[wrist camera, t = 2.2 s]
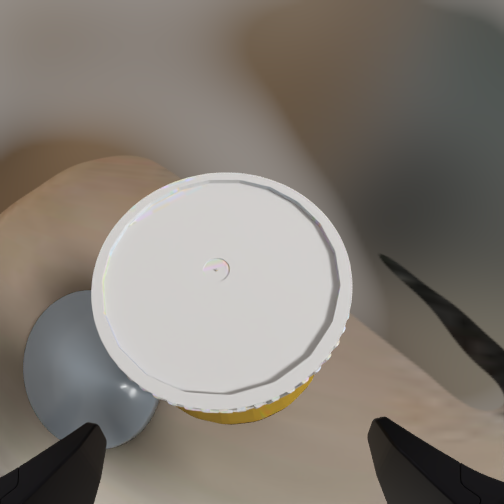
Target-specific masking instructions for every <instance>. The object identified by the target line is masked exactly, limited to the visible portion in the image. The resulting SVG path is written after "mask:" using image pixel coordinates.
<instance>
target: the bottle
mask: <svg viewBox="0 0 504 504" xmlns="http://www.w3.org/2000/svg"><path fill="white" fill-rule="evenodd" d="M351 299H352V273H351V267H350V263H349V258H348V255H347V252H346V249H345V246H344V244H343V242H342V240H341V238H340V236H339V234H338V232H337V231H336V229H335V228H334V226H333V224H332V223H331V222H330V220H329V219H328V218H327V217H326V216H325V215H324V213H323V212H322V211H321V210H320V209H319V208H318V207H317V206H316V205H314V204H313V203H312V202H311V201H310V200H308V199H307V198H306V197H304V196H303V195H301V194H300V193H298V192H296V191H295V190H293V189H291V188H289V187H287V186H285V185H283V184H281V183H278V182H276V181H273V180H270V179H267V178H263V177H259V176H255V175H249V174H243V173H210V174H203V175H198V176H193V177H189V178H185V179H182V180H179V181H176V182H173V183H171V184H168V185H166V186H164V187H162V188H160V189H158V190H156V191H154V192H153V193H151V194H149V195H148V196H146V197H145V198H143V199H142V200H141V201H139V202H138V203H137V204H136V205H134V206H133V207H132V208H131V209H130V210H129V211H128V212H127V213H126V214H125V215H124V216H123V217H122V218H121V219H120V220H119V221H118V223H117V224H116V225H115V226H114V228H113V229H112V231H111V232H110V234H109V235H108V237H107V239H106V240H105V242H104V244H103V246H102V248H101V251H100V253H99V256H98V258H97V261H96V265H95V268H94V273H93V279H92V288H91V301H92V311H93V316H94V321H95V324H96V328H97V331H98V333H99V336H100V338H101V340H102V342H103V344H104V346H105V348H106V350H107V351H108V353H109V355H110V357H111V358H112V359H113V360H114V362H115V363H116V364H117V367H118V368H119V369H120V370H122V371H123V372H124V373H125V374H126V375H127V377H128V379H130V380H131V381H133V382H136V383H137V384H138V385H139V387H140V388H141V389H142V390H143V391H147V392H150V393H153V394H152V395H153V397H155V398H157V399H160V400H165V401H168V403H169V404H171V405H173V406H176V407H178V408H179V409H181V410H183V411H184V412H186V413H188V414H189V415H191V416H193V417H196V418H198V419H202V420H206V421H211V422H216V423H220V424H241V423H249V422H255V421H259V420H262V419H264V418H266V417H268V416H271V415H273V414H275V413H277V412H279V411H281V410H283V409H284V408H285V407H287V406H288V405H290V404H291V403H292V402H293V401H294V400H295V399H296V398H297V397H298V396H299V395H300V394H301V393H302V392H303V391H304V390H305V389H306V388H307V386H308V385H309V384H310V382H311V381H312V379H313V376H314V374H315V373H317V372H318V371H319V370H320V369H321V365H322V364H323V363H325V362H326V361H327V360H328V359H329V358H330V357H331V353H330V352H331V351H332V350H333V349H334V348H336V347H337V345H338V344H339V338H340V336H341V335H342V334H343V333H344V331H345V324H346V321H347V319H348V318H349V310H350V306H351Z"/></svg>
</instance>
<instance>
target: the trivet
mask: <svg viewBox="0 0 504 504" xmlns="http://www.w3.org/2000/svg"><path fill="white" fill-rule="evenodd" d="M23 374H24V383H25V388H26V392H27V395H28V399H29V401H30V404H31V406H32V408H33V410H34V412H35V414H36V415H37V417H38V418H39V420H40V421H41V422H42V424H43V425H44V426H45V427H46V428H47V429H48V430H49V431H50V432H51V433H52V434H53V435H54V436H56V437H57V438H58V439H60V440H61V439H63V438H64V437H66V436H67V435H69V434H70V433H72V432H73V431H74V430H76V429H77V428H79V427H80V426H82V425H83V424H85V423H86V422H91V423H96V424H98V425H99V426H100V428H101V430H102V432H103V434H104V436H105V437H106V440H107V446H106V449H110V448H114V447H118V446H120V445H123V444H125V443H127V442H129V441H130V440H132V439H133V438H135V437H136V436H137V435H138V434H139V433H140V432H141V431H142V430H143V429H144V428H145V427H146V426H147V424H148V423H149V421H150V420H151V418H152V416H153V415H154V413H155V410H156V408H157V405H158V402H159V399H157V398H155V397H153V395H152V394H153V393H150V392H147V391H143V390H142V389H141V388H140V387H139V385H138V384H137V383H136V382H133V381H131V380H130V379H128V377H127V375H126V374H125V373H124V372H123V371H122V370H120V369H119V368H118V367H117V364H116V363H115V362H114V360H113V359H112V358H111V357H110V355H109V353H108V351H107V350H106V348H105V346H104V344H103V342H102V340H101V338H100V336H99V333H98V331H97V328H96V324H95V321H94V316H93V311H92V301H91V290H85V291H78V292H74V293H71V294H68V295H66V296H64V297H62V298H60V299H59V300H57V301H56V302H54V303H53V304H52V305H51V306H49V307H48V308H47V309H46V310H45V311H44V312H43V314H42V315H41V316H40V317H39V319H38V320H37V322H36V323H35V325H34V327H33V329H32V331H31V333H30V335H29V338H28V341H27V344H26V348H25V353H24V361H23Z"/></svg>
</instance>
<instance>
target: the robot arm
mask: <svg viewBox="0 0 504 504" xmlns="http://www.w3.org/2000/svg"><path fill="white" fill-rule="evenodd" d="M368 443H369V447H370V451H371V455H372V459H373V463H374V467H375V471H376V475H377V478H378V480H379V483H380V485H381V488H382V491H383V493H384V496H385V499H386V501H387V504H504V482H502V481H499V480H496V479H494V478H491V477H488V476H486V475H484V474H481V473H479V472H477V471H475V470H473V469H471V468H469V467H467V466H465V465H464V464H462V463H459V462H458V461H456V460H455V459H453V458H451V457H450V456H448V455H446V454H444V453H443V452H441V451H439V450H438V449H436V448H434V447H433V446H431V445H429V444H428V443H426V442H425V441H423V440H421V439H420V438H418V437H416V436H415V435H413V434H412V433H410V432H409V431H407V430H405V429H404V428H402V427H401V426H399V425H398V424H396V423H395V422H393V421H392V420H390V419H388V418H387V417H380V418H376V419H374V420H373V421H372V424H371V426H370V429H369V432H368ZM106 446H107V440H106V437H105V436H104V434H103V432H102V430H101V428H100V426H99V425H98V424H96V423H91V422H86V423H85V424H83V425H82V426H80V427H79V428H77V429H76V430H74V431H73V432H72V433H70V434H69V435H67V436H66V437H64V438H63V439H61V440H60V441H58V442H57V443H55V444H54V445H52V446H51V447H49V448H48V449H46V450H45V451H43V452H41V453H40V454H38V455H37V456H35V457H34V458H32V459H31V460H29V461H27V462H26V463H24V464H23V465H21V466H20V467H18V468H16V469H15V470H13V471H11V472H10V473H8V474H6V475H4V476H3V477H0V504H94V501H95V497H96V494H97V490H98V487H99V483H100V479H101V475H102V469H103V463H104V457H105V451H106Z"/></svg>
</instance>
